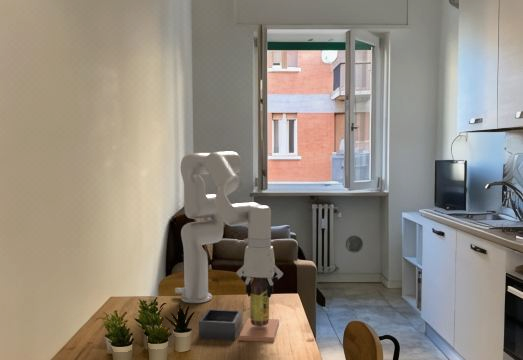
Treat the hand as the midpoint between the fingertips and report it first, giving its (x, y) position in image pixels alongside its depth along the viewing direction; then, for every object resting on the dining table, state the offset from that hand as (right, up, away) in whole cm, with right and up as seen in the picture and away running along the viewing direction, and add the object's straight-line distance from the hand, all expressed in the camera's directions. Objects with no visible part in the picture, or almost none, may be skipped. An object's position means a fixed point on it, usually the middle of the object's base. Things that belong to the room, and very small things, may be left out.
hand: (259, 295), depth 160 cm
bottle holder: (-13, -12, +1) cm, 18 cm away
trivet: (0, -12, +1) cm, 12 cm away
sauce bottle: (0, -10, +1) cm, 10 cm away
